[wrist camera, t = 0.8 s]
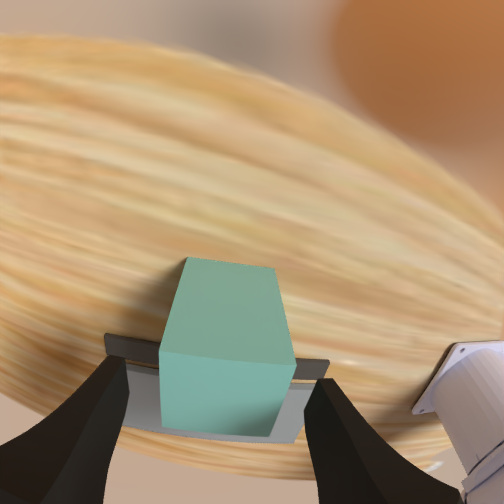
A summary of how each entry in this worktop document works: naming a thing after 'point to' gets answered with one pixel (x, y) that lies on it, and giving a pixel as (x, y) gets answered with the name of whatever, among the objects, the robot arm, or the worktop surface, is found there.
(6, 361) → the worktop surface
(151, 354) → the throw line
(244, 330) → the block
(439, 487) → the robot arm
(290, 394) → the mat
